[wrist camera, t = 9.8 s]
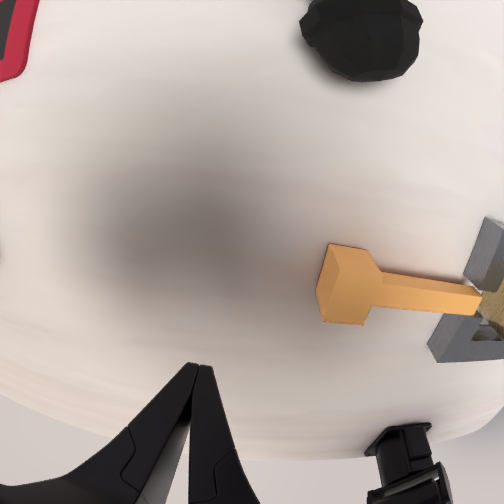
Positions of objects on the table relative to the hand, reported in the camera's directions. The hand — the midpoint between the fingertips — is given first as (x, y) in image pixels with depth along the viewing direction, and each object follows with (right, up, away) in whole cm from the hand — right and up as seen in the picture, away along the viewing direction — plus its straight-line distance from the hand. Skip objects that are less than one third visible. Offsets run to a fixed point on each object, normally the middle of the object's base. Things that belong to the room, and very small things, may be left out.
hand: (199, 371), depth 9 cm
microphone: (+6, +21, 0) cm, 22 cm away
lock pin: (+11, +2, +8) cm, 14 cm away
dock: (+22, +1, +9) cm, 24 cm away
